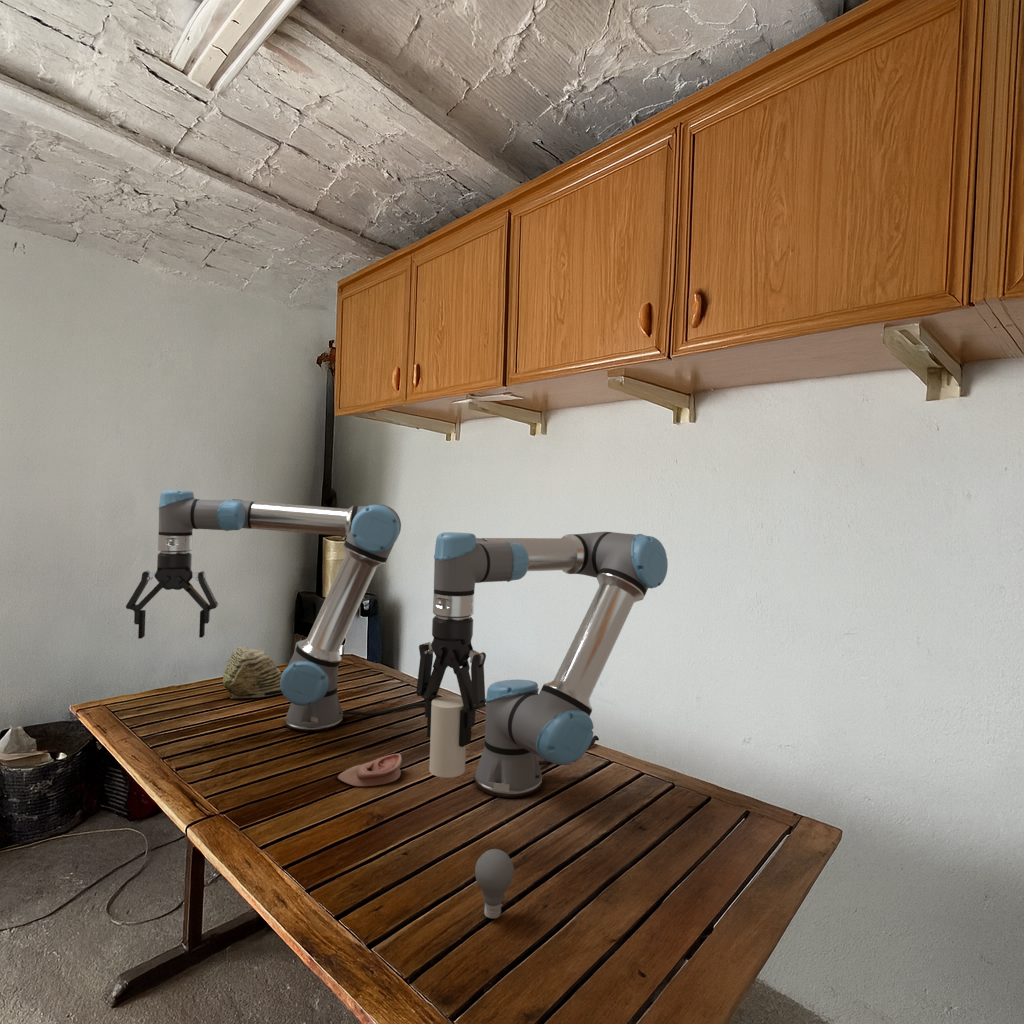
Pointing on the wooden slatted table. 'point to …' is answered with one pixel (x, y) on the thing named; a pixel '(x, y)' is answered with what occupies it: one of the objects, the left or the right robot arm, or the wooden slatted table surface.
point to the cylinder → (446, 738)
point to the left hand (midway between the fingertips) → (172, 637)
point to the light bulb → (494, 879)
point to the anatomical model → (373, 772)
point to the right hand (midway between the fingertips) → (448, 739)
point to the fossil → (251, 674)
